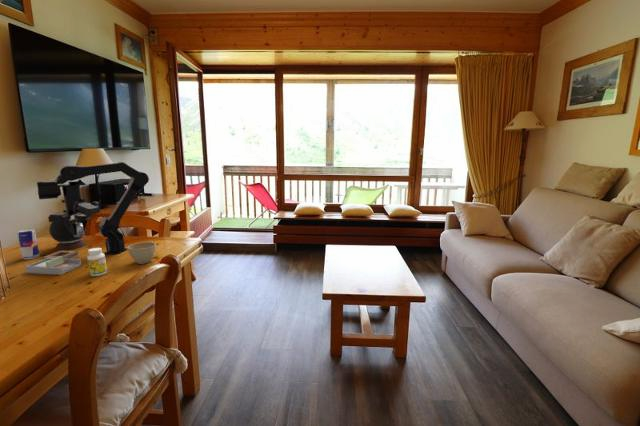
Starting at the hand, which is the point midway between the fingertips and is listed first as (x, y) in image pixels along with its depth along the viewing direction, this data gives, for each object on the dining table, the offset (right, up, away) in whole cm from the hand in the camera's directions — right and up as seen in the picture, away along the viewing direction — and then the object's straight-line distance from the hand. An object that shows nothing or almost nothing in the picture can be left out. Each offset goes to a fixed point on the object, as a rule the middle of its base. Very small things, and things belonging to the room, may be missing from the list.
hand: (78, 233), depth 128 cm
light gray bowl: (+28, -12, -1) cm, 30 cm away
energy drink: (-22, -10, +2) cm, 25 cm away
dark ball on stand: (-17, -7, +17) cm, 25 cm away
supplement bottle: (+18, -14, -13) cm, 26 cm away
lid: (-4, -12, -9) cm, 15 cm away
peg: (0, -1, 0) cm, 1 cm away
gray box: (-2, -13, -9) cm, 16 cm away
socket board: (-7, -11, 0) cm, 13 cm away
